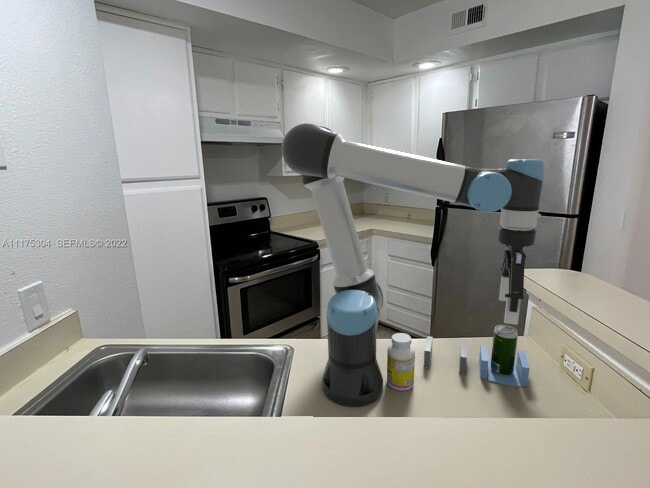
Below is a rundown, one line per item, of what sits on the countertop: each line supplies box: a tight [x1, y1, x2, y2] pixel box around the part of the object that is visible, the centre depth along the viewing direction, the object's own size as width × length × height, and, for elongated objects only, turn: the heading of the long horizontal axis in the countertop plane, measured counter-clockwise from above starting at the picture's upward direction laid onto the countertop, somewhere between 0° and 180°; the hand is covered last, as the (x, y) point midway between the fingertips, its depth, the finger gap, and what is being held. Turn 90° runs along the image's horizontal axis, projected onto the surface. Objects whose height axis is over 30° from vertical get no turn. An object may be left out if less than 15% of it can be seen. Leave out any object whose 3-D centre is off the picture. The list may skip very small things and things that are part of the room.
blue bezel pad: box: [487, 358, 520, 388], centre depth 90 cm, size 7×10×1 cm
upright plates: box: [423, 336, 531, 387], centre depth 92 cm, size 24×8×5 cm, turn 68°
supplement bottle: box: [386, 332, 416, 392], centre depth 85 cm, size 7×7×13 cm
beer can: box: [490, 324, 519, 377], centre depth 88 cm, size 5×5×12 cm
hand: (507, 311), depth 86 cm, fingers open, 13 cm apart
